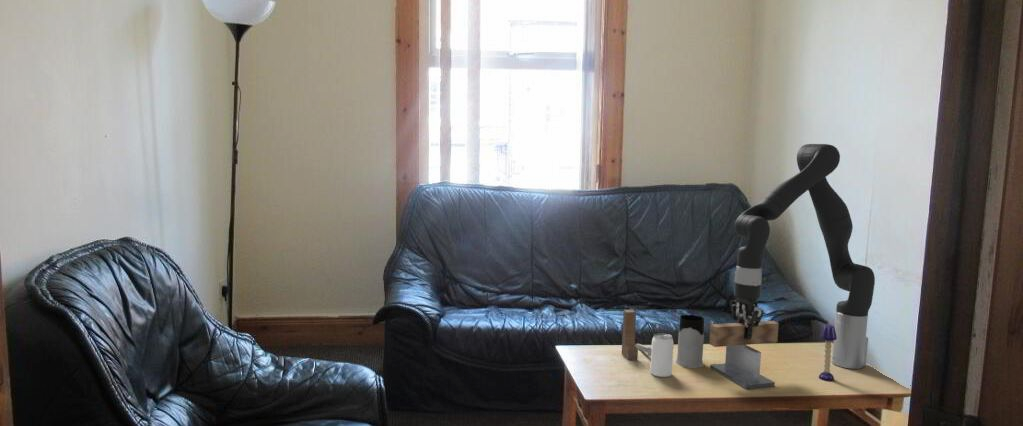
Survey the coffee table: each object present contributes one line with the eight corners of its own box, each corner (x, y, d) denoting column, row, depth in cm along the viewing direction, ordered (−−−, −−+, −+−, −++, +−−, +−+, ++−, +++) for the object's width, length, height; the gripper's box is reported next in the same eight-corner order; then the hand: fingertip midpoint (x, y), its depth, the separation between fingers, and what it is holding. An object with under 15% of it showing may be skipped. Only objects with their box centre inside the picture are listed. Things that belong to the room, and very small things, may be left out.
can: (673, 372, 209) (675, 334, 207) (669, 379, 203) (671, 340, 202) (652, 369, 211) (654, 331, 210) (647, 375, 206) (649, 337, 204)
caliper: (657, 366, 215) (658, 347, 214) (654, 366, 215) (655, 347, 214) (637, 346, 235) (638, 328, 234) (634, 346, 235) (635, 328, 234)
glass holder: (673, 365, 216) (676, 319, 214) (680, 352, 229) (682, 309, 227) (701, 369, 212) (704, 322, 211) (707, 356, 225) (709, 312, 224)
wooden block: (621, 353, 226) (623, 309, 224) (630, 353, 226) (632, 309, 224) (628, 360, 219) (630, 315, 217) (637, 359, 220) (640, 314, 218)
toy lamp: (826, 382, 204) (831, 328, 202) (813, 377, 208) (817, 324, 206) (837, 379, 206) (841, 326, 204) (823, 374, 210) (828, 322, 208)
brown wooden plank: (715, 347, 201) (716, 327, 200) (709, 343, 203) (710, 324, 203) (777, 342, 207) (778, 323, 206) (770, 339, 210) (772, 320, 209)
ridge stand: (737, 365, 216) (739, 335, 215) (774, 386, 199) (777, 353, 198) (710, 368, 213) (712, 337, 212) (745, 389, 196) (748, 355, 195)
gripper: (723, 277, 209) (719, 331, 211) (752, 287, 195) (747, 345, 197) (744, 276, 211) (740, 330, 213) (773, 286, 197) (769, 343, 199)
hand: (743, 337), depth 205 cm, fingers closed on brown wooden plank, 3 cm apart
